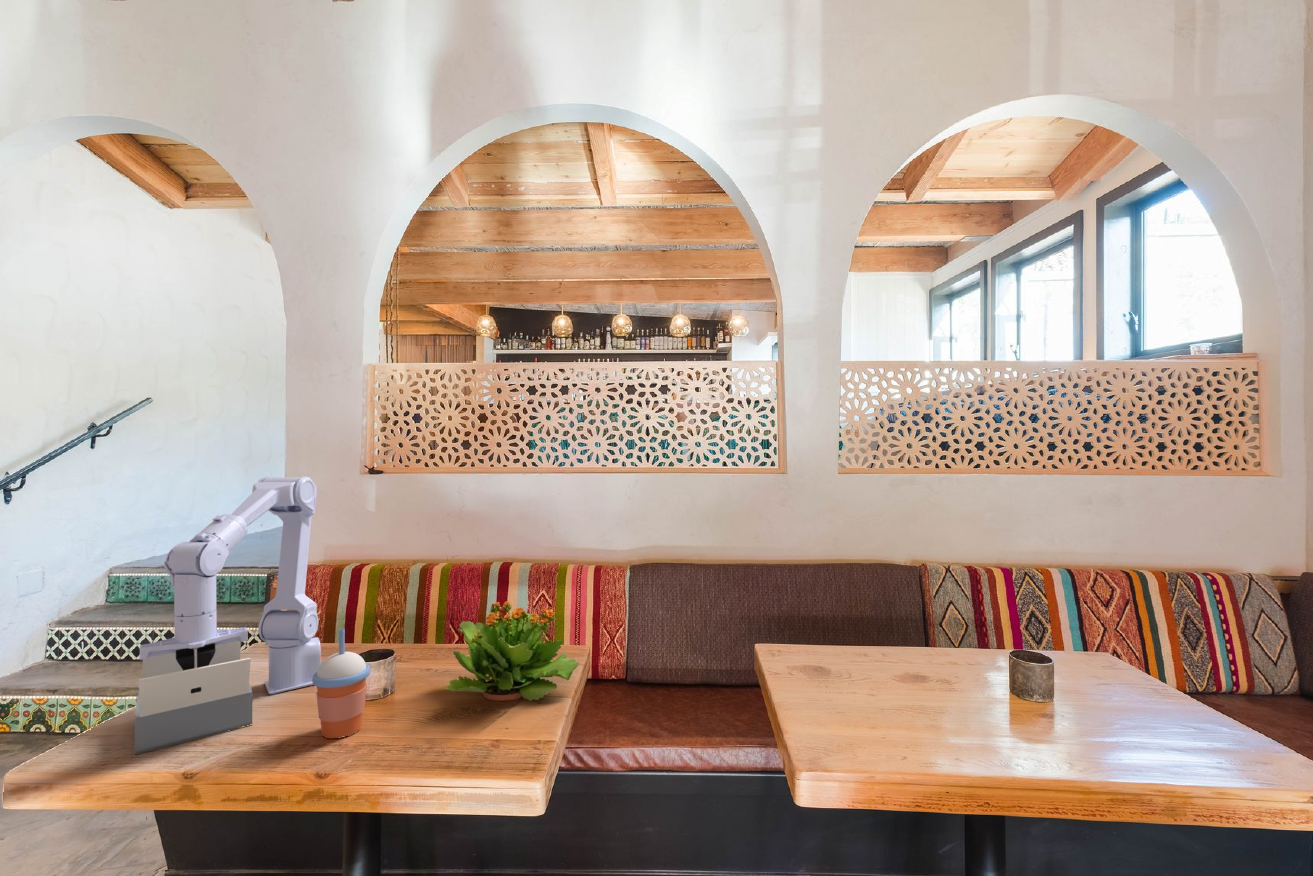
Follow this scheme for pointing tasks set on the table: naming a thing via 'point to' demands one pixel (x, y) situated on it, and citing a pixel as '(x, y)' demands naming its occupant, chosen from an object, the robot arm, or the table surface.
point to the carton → (191, 722)
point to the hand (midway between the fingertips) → (196, 690)
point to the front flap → (193, 686)
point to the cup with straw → (341, 691)
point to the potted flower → (511, 656)
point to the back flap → (170, 664)
